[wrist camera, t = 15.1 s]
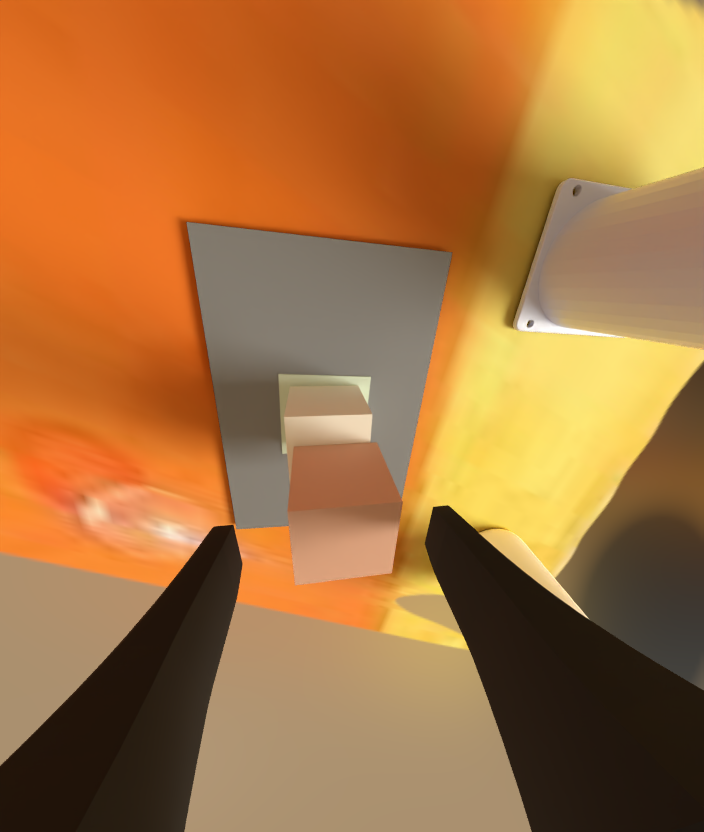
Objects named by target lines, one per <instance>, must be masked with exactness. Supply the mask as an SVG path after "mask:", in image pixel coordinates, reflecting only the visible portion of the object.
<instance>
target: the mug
mask: <svg viewBox="0 0 704 832" xmlns="http://www.w3.org/2000/svg"><path fill="white" fill-rule="evenodd" d="M479 534H481V535H482V536H483V537H484V538H485V539H486V540H487V541H488V542H490V543H491V544H492V545H493V546H494V547H495V548H496V549H498V550H499V551H500V552H501V553H502V554H503V555H505V556H506V557H507V558H508V559H509V560H511V561H512V562H513V563H514V564H515V565H517V566H518V567H519V568H520V569H522V570H523V571H524V572H525V573H527V574H528V575H529V576H530V577H532V578H533V579H534V580H535V581H537V582H538V583H539V584H541V585H542V586H543V587H545V588H546V589H547V590H548V591H550V592H551V593H552V594H554V595H555V596H557V597H558V598H559V599H561V600H562V601H564V602H565V603H566V604H568V605H569V606H571V607H572V608H573V609H575V610H576V611H578V612H579V613H580V614H582V615H583V616H585V617H586V618H587V616H586V615H585V614H584V613H583V612H582V610H581V609H580V608H579V607H578V606H577V604H576V603H575V602H574V601H573V600H572V598H571V597H570V596H569V595H568V594H567V593H566V592H565V590H564V589H563V588H562V587H561V586H560V584H559V583H558V582H557V581H556V579H555V578H554V577H553V576H552V575H551V574H550V572H549V571H548V570H547V569H546V568H545V566H544V565H543V564H542V563H541V562H540V560H539V559H538V558H537V557H536V556H535V555H534V553H533V552H532V551H531V550H530V549H529V547H528V546H527V545H526V544H525V543H524V542H523V541H522V539H521V538H520V537H518V536H517V535H516V534H515V533H513V532H511V531H508V530H504V529H489V530H485V531H482V532H479Z"/></svg>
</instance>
